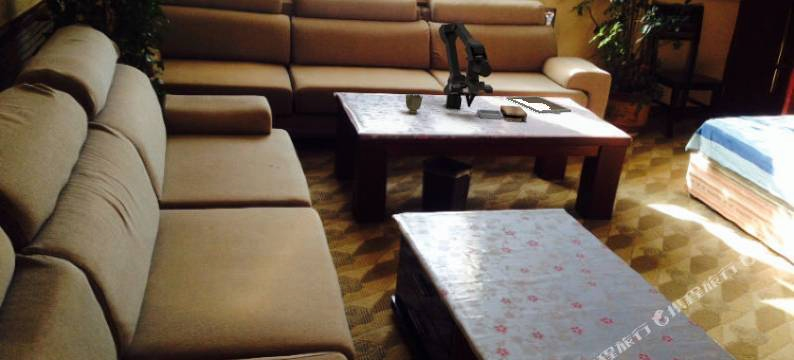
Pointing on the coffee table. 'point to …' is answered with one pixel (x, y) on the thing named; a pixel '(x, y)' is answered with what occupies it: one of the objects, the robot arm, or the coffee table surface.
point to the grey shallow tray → (490, 114)
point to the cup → (413, 102)
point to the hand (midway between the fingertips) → (468, 106)
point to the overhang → (514, 112)
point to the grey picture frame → (536, 99)
